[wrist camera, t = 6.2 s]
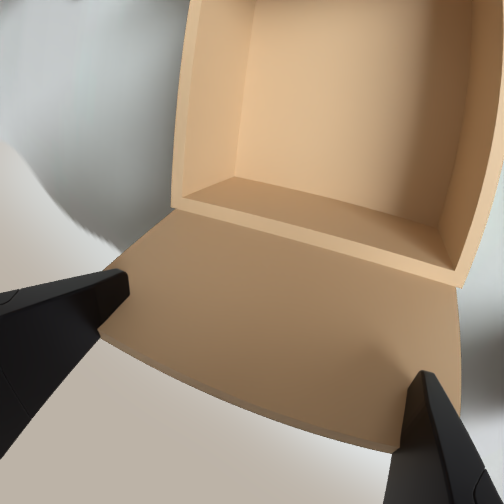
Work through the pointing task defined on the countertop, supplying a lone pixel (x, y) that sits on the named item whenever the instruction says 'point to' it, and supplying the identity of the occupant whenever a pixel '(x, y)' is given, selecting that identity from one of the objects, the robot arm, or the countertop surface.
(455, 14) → the carton
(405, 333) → the flap
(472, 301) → the countertop surface
